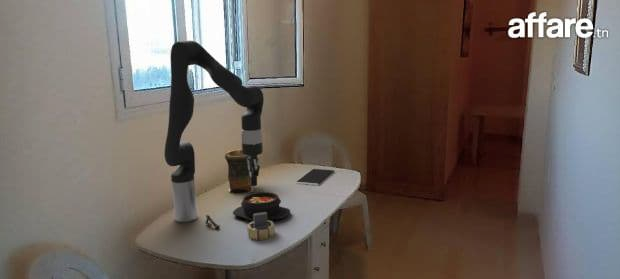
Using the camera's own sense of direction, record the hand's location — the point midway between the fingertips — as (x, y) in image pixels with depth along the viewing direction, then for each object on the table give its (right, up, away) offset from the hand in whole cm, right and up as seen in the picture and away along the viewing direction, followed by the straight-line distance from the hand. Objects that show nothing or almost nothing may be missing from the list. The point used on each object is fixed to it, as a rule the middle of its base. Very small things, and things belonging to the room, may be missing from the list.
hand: (254, 185), depth 165 cm
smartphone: (+24, -4, +75) cm, 79 cm away
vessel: (-14, -9, +57) cm, 59 cm away
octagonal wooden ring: (+2, -19, +4) cm, 20 cm away
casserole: (0, -16, +23) cm, 27 cm away
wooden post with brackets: (-19, -18, +12) cm, 29 cm away
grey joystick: (+2, -17, +3) cm, 17 cm away
